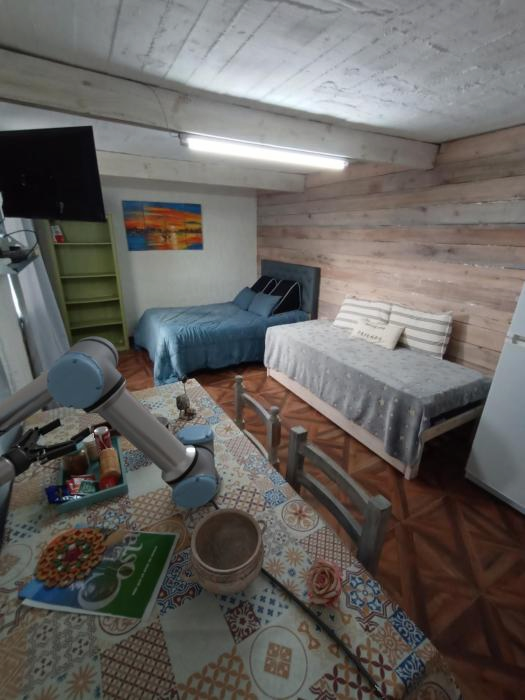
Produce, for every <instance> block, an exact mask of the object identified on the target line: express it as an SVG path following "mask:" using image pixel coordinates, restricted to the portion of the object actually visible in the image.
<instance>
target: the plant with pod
mask: <svg viewBox="0 0 525 700" xmlns="http://www.w3.org/2000/svg"><path fill="white" fill-rule="evenodd" d="M187 382H188V377H187V375H186V374H184V375H183V376H182V377H181V383H182V384H183V388H184V392H183V393H182V394H181V393H180V394H179V395H177V396H175V406H176V409H177V410H178V411H179V418H178V419H179V420H180V419H182V420H186V421H189V420H192V419H193V418H194V417H195V416H196V415H197V413H198V410H197V409H196V408H193V407H191V401H190V398H189V396H188V394H187V391H186V385H185V384H186V383H187Z"/></svg>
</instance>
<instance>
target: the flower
mask: <svg viewBox="0 0 525 700" xmlns="http://www.w3.org/2000/svg"><path fill="white" fill-rule="evenodd" d="M343 577H344V573H343V572H342V569H341V568H339V566H338V565H337V564H336V563H335V562H334V561H329V560H327V559H324V558H322V557H316V558H315V559H314V561H313V564H312V565H311V566H310V568H309V570H308V574H307V583H306V584H307V585H306V587H307V596H308V597H309V599H310V601H311V602H312V603H313V604H315V605H323V606H326V608H327V609H330V608H331V609H332V608H333V607H332V606H333V605H335V604H337V603H338V602H339V601H341V597H340V595H341V594H342V595H344V594H343V592H342V584H343V581H344V579H343ZM340 593H341V594H340Z"/></svg>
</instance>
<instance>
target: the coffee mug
mask: <svg viewBox="0 0 525 700" xmlns="http://www.w3.org/2000/svg"><path fill="white" fill-rule="evenodd" d="M155 417H156V418H157V419H158V420H159V421H160V422H161V423H162V424H163V425H164V426H165V427H166V428H167V429H168V430H169V429H170V420H169V418H168V417H167V416H160V415H159V416H158V415H157V416H155ZM169 431H170V430H169Z"/></svg>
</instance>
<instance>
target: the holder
mask: <svg viewBox="0 0 525 700" xmlns="http://www.w3.org/2000/svg"><path fill="white" fill-rule="evenodd" d="M99 427H107V428H108V430H109V433H110V438H113V437H115V436H119V435H121V434H120V433H119V432H118V431H117V430H116V429H115V428H113V427H112V426H111V425H110V424H109V423H108V422H107V421H106V420H104V421H102V422H99V423H94V424H91V425H90V430H91V431H90V432H91V434H92V433H95V432H94V431H95V430H96V429H97V428H99Z"/></svg>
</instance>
